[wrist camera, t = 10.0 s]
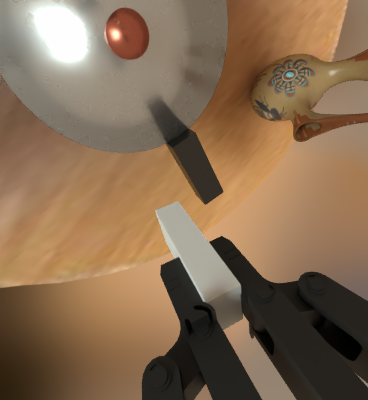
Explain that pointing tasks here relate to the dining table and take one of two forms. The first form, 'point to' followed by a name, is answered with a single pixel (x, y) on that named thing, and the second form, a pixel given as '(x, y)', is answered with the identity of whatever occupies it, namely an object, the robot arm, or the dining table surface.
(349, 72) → the ceramic vessel
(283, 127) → the dining table surface
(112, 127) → the cooker lid
